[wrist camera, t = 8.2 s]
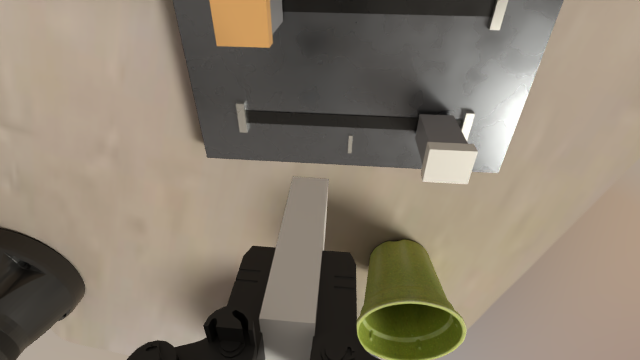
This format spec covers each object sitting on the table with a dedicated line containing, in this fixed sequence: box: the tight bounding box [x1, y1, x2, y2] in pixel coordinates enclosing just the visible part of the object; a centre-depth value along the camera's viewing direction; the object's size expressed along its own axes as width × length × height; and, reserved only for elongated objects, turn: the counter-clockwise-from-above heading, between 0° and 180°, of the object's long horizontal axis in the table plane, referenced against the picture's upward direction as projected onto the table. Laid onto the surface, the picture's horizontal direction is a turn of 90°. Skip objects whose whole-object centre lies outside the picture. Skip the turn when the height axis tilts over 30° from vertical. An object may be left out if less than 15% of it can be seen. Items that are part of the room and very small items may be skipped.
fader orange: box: [209, 0, 283, 48], centre depth 20 cm, size 3×2×5 cm
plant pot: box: [357, 240, 466, 360], centre depth 33 cm, size 9×9×9 cm
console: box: [173, 0, 563, 173], centre depth 24 cm, size 24×16×2 cm, turn 90°
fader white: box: [415, 114, 478, 184], centre depth 23 cm, size 3×2×5 cm
